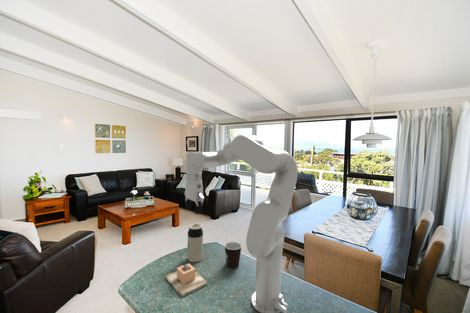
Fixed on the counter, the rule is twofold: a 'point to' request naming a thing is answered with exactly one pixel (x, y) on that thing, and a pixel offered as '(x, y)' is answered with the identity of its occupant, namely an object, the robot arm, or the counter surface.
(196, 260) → the travel mug
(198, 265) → the counter surface
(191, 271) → the ring
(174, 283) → the post stand
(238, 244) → the coffee mug
